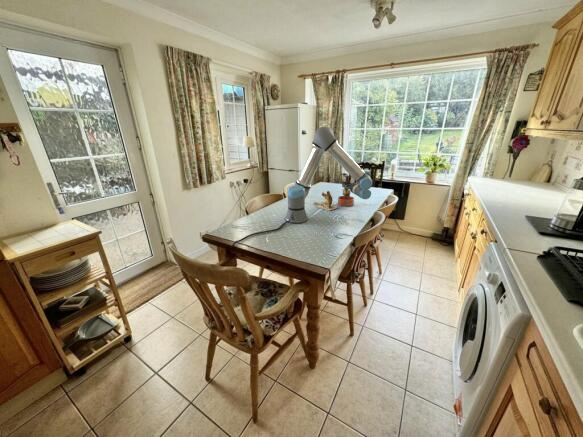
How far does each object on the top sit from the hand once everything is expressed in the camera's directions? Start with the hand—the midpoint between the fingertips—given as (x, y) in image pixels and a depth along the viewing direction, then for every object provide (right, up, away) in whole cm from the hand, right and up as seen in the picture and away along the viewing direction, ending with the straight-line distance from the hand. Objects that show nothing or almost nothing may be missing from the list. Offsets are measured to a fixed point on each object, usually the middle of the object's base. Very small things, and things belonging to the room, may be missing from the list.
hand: (344, 182), depth 193 cm
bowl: (+2, -18, +4) cm, 18 cm away
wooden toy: (-16, -20, -1) cm, 26 cm away
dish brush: (+1, -11, -2) cm, 11 cm away
